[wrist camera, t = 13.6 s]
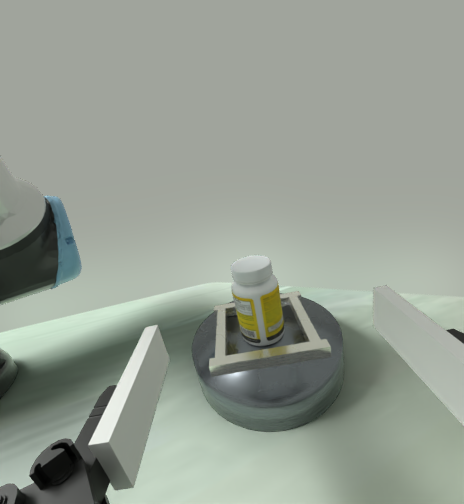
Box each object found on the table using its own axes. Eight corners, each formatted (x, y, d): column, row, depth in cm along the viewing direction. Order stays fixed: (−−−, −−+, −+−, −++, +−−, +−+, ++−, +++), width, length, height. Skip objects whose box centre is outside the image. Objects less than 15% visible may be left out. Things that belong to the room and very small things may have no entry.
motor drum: (191, 444, 21) (175, 401, 19) (205, 327, 36) (197, 297, 34) (378, 415, 20) (379, 368, 19) (313, 308, 35) (310, 277, 34)
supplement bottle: (281, 316, 29) (272, 250, 26) (288, 345, 24) (278, 269, 21) (241, 321, 29) (228, 257, 26) (240, 350, 25) (224, 276, 22)
